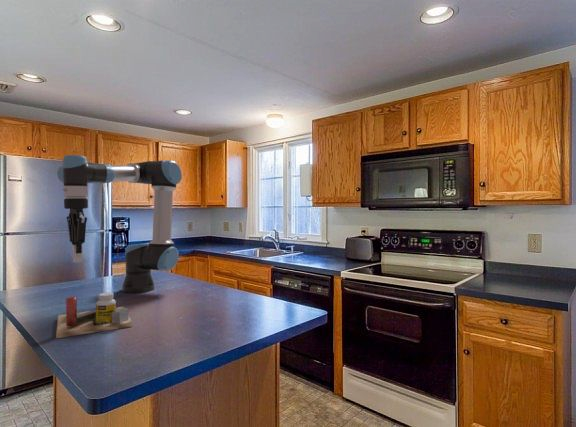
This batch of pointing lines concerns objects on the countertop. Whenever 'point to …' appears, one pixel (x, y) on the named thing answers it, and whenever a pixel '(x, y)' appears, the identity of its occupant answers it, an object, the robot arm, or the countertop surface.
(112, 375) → the countertop surface
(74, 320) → the lever
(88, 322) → the tan flat square sheet
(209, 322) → the countertop surface
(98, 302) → the pill bottle
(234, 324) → the countertop surface
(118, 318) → the grey angular block
